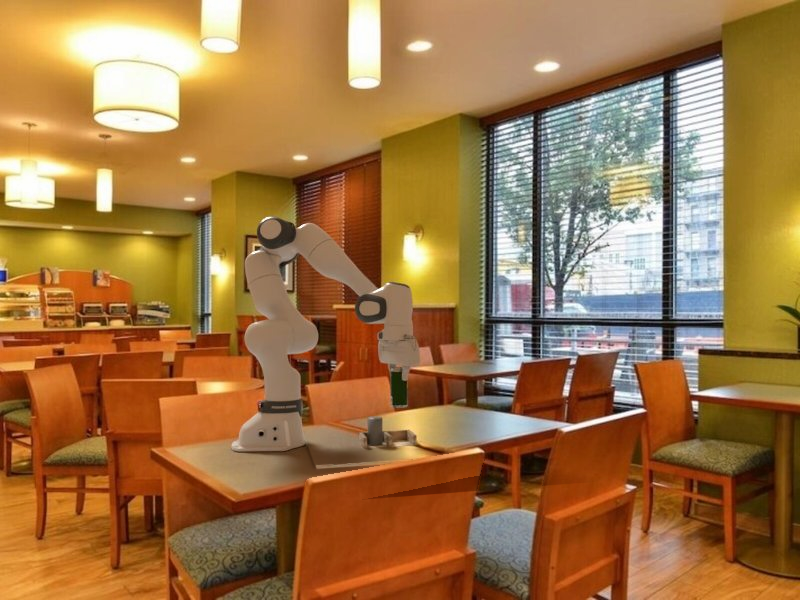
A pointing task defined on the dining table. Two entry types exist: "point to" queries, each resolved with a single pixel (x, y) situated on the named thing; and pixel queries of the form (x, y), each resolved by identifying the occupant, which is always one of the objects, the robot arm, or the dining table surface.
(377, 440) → the grey upright block
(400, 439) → the comb rack
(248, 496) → the dining table surface
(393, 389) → the beer can
